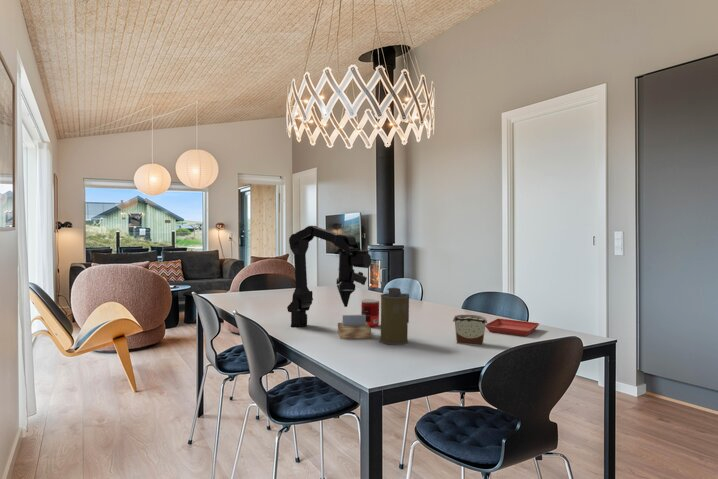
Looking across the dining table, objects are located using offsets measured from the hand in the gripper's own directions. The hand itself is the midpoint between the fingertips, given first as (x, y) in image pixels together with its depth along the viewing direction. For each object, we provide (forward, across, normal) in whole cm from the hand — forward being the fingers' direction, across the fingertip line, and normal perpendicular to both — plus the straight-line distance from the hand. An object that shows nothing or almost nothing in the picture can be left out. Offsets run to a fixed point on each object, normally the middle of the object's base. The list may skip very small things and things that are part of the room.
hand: (344, 304), depth 190 cm
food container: (+10, -20, -46) cm, 51 cm away
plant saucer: (+10, -1, -71) cm, 71 cm away
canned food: (+12, +14, -13) cm, 22 cm away
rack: (+11, -4, -4) cm, 13 cm away
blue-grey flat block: (+10, -4, -4) cm, 12 cm away
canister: (+11, -16, -18) cm, 26 cm away
